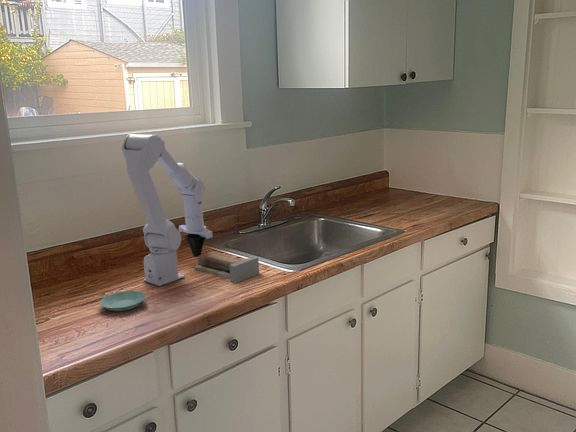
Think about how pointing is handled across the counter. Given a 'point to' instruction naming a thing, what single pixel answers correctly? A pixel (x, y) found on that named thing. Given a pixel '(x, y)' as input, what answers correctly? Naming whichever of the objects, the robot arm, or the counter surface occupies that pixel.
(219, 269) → the packaged product
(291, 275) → the counter surface
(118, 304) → the saucer
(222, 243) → the counter surface
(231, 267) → the board
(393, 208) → the counter surface
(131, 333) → the counter surface
